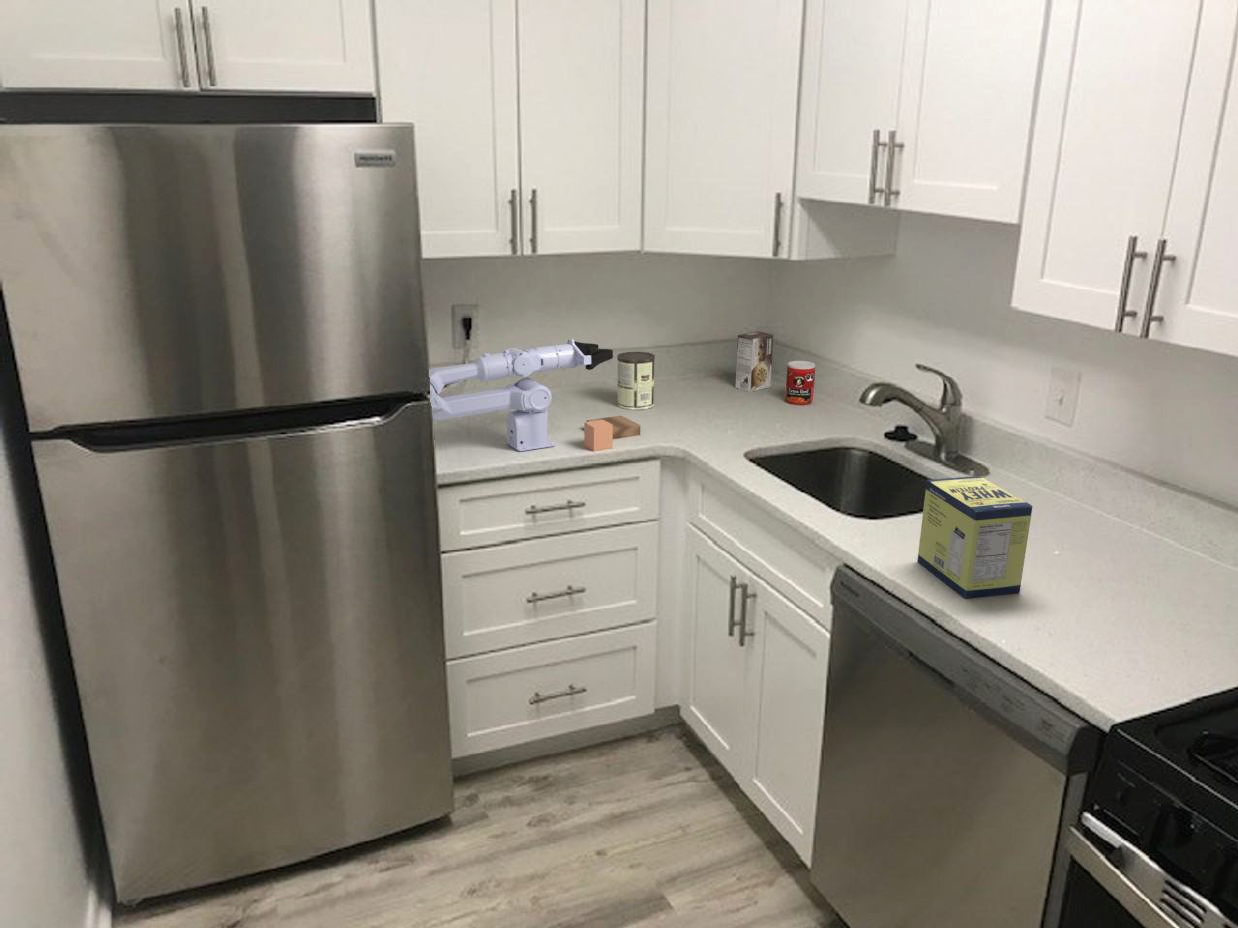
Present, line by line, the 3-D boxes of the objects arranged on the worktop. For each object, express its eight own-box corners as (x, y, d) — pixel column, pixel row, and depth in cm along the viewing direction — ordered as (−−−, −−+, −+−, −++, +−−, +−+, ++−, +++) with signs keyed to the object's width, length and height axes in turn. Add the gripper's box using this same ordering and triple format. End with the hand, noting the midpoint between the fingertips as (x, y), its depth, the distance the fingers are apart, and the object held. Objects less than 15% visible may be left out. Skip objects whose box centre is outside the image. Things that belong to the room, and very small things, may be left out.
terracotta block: (593, 451, 229) (593, 427, 227) (584, 446, 233) (584, 422, 231) (612, 448, 231) (612, 424, 229) (602, 443, 235) (602, 419, 234)
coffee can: (629, 398, 275) (630, 349, 271) (660, 404, 270) (662, 354, 266) (609, 406, 267) (609, 356, 263) (641, 412, 262) (642, 361, 257)
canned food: (783, 404, 271) (785, 365, 268) (787, 397, 278) (789, 359, 275) (811, 406, 269) (813, 367, 265) (814, 399, 276) (817, 361, 273)
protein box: (967, 555, 174) (978, 474, 169) (1021, 593, 160) (1035, 505, 155) (915, 561, 172) (924, 478, 167) (965, 600, 157) (977, 511, 152)
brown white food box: (755, 383, 294) (758, 330, 288) (771, 387, 289) (774, 334, 284) (734, 388, 288) (737, 334, 283) (750, 392, 283) (753, 337, 278)
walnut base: (605, 442, 238) (605, 430, 237) (586, 431, 246) (586, 420, 245) (640, 436, 242) (640, 425, 241) (620, 426, 250) (620, 415, 249)
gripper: (566, 346, 222) (618, 339, 228) (540, 336, 234) (591, 330, 240) (567, 376, 224) (619, 369, 230) (542, 364, 237) (592, 358, 242)
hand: (605, 351), depth 235 cm, fingers open, 7 cm apart
